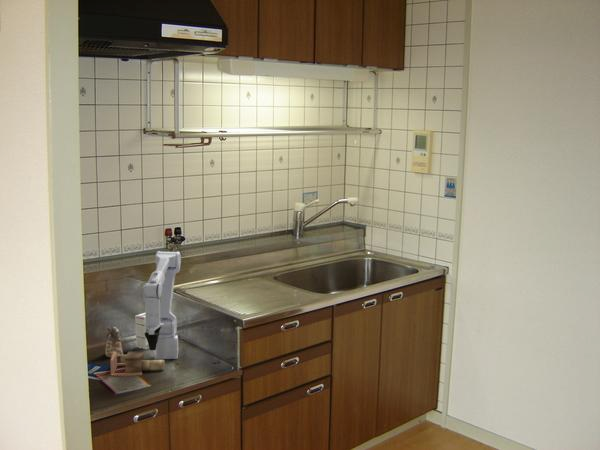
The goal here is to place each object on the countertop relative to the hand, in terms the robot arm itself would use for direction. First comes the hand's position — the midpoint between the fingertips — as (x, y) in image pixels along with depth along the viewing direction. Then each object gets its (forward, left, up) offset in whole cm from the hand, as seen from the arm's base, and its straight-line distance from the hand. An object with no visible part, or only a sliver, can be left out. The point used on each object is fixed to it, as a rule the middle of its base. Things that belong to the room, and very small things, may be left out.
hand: (153, 346), depth 277 cm
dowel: (+2, 0, -10) cm, 10 cm away
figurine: (+18, -19, -10) cm, 28 cm away
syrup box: (+6, -28, -10) cm, 30 cm away
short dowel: (+10, -8, -9) cm, 16 cm away
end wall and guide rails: (+10, 0, -9) cm, 13 cm away
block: (+8, 0, -9) cm, 12 cm away
